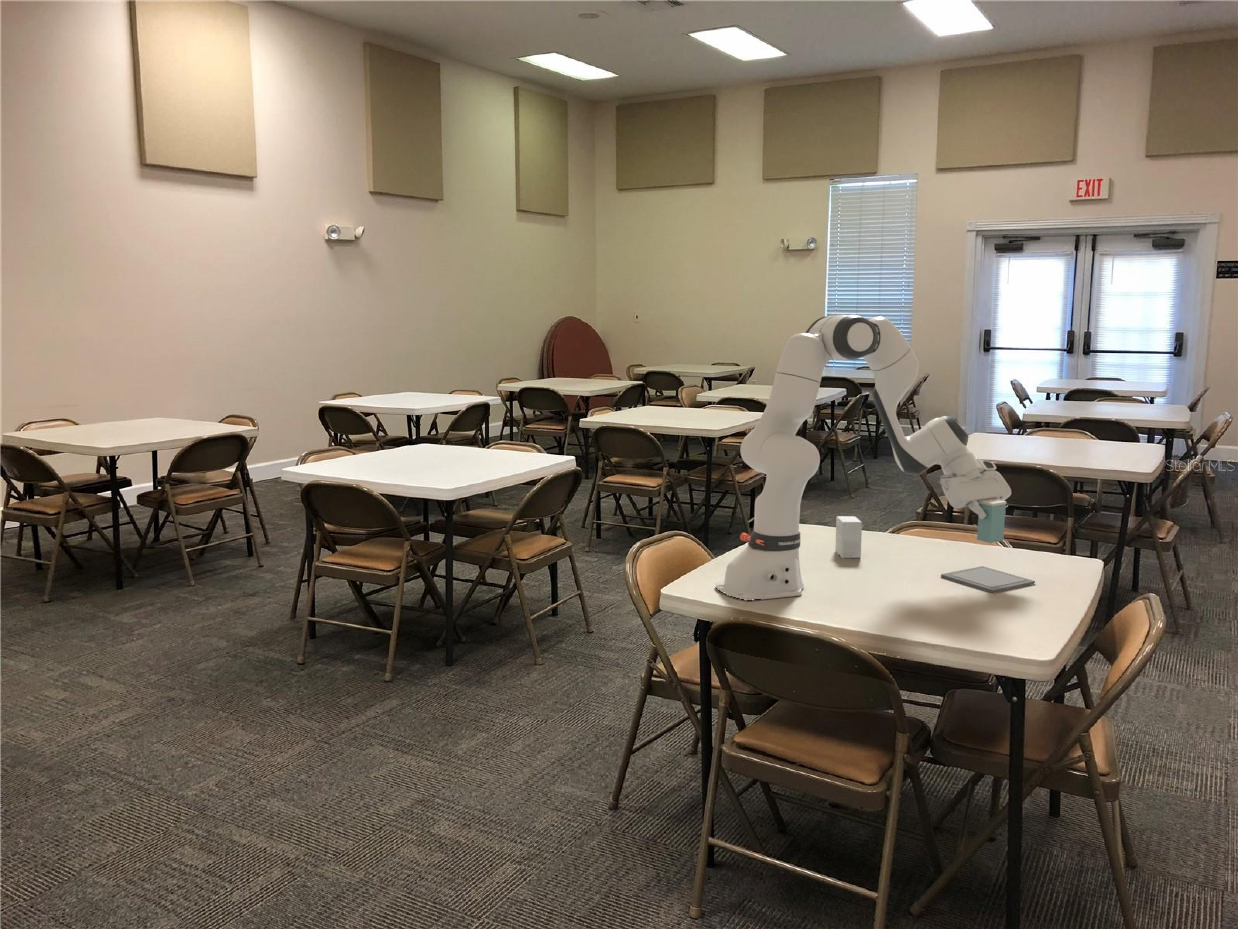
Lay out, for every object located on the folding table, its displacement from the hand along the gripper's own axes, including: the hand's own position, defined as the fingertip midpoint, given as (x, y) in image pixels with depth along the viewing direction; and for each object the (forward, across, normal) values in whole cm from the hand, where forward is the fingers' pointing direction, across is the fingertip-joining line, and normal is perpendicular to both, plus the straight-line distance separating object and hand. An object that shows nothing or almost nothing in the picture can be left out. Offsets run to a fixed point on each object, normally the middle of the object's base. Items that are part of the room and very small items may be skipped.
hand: (993, 516), depth 228 cm
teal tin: (+4, 0, +5) cm, 6 cm away
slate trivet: (+12, 0, +12) cm, 17 cm away
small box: (-14, -13, +39) cm, 43 cm away
